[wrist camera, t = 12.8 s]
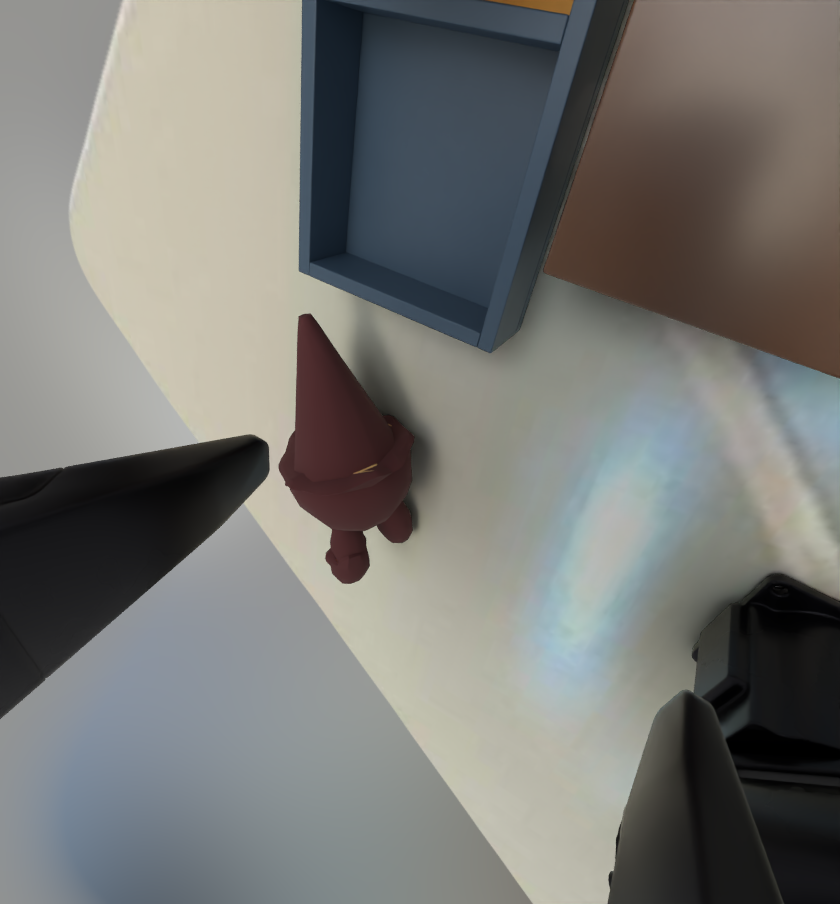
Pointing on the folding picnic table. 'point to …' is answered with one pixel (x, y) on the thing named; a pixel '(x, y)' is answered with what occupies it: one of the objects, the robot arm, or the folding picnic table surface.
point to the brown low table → (717, 175)
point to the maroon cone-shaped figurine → (345, 456)
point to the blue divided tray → (443, 149)
